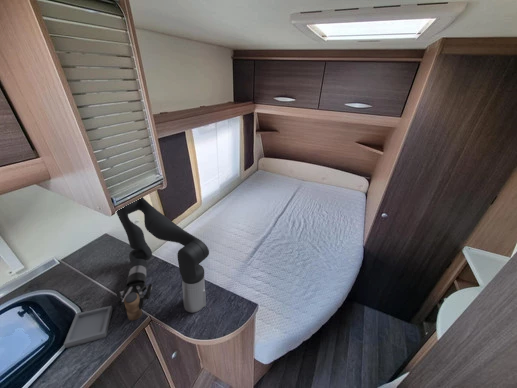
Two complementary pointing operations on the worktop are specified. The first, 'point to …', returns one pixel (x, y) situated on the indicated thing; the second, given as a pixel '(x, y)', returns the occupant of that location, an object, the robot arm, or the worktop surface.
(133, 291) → the robot arm
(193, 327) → the worktop surface
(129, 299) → the wooden cylinder
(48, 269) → the worktop surface
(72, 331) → the grey square tray
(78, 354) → the worktop surface
